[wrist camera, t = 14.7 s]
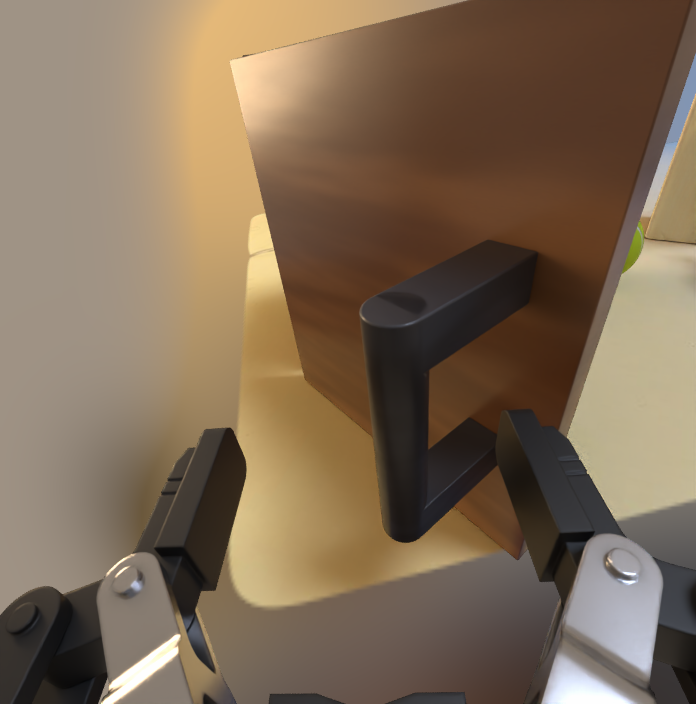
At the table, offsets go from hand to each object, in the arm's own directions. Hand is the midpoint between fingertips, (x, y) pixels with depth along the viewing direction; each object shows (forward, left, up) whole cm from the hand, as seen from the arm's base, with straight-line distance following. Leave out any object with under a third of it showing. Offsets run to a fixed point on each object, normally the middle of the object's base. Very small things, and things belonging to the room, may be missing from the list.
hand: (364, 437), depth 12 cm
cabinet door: (-1, +6, -10) cm, 12 cm away
